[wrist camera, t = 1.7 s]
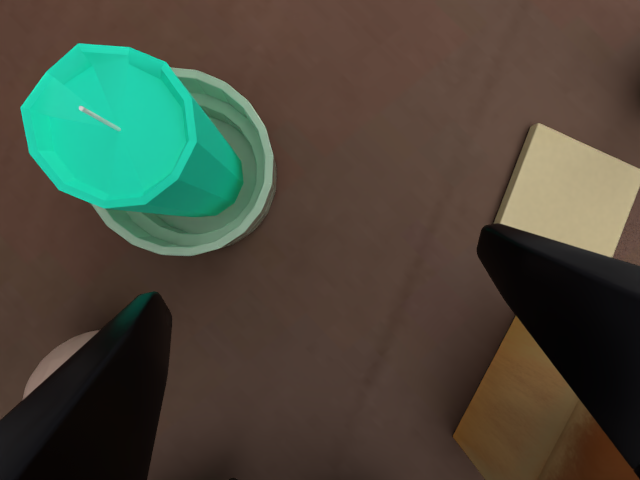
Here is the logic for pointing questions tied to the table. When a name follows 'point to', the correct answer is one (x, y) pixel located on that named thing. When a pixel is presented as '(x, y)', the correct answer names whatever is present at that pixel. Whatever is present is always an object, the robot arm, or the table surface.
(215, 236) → the bowl
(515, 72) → the table surface
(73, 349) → the egg
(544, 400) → the bread
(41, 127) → the candle
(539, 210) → the coaster
